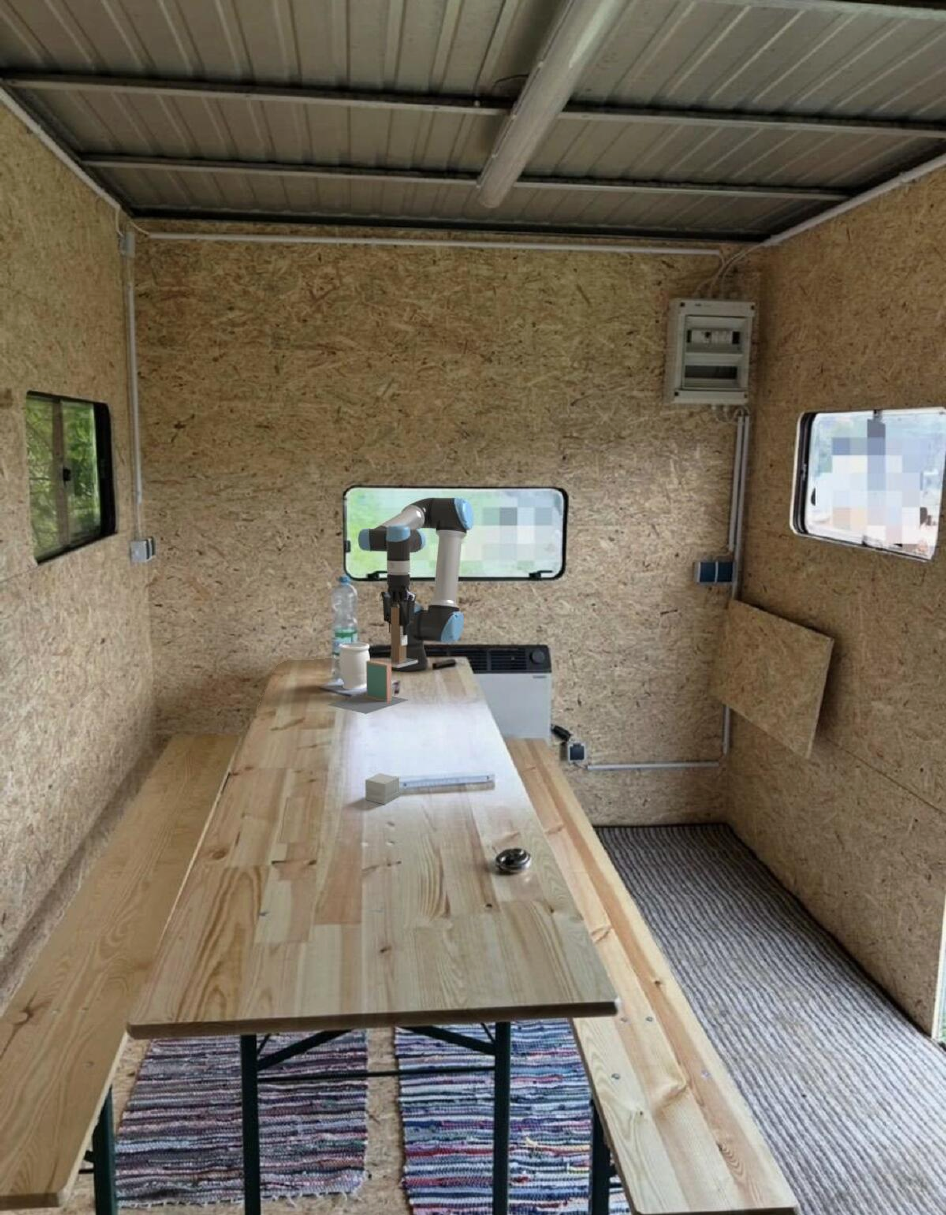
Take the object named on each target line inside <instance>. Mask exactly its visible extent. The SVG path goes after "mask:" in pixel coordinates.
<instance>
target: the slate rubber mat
mask: <svg viewBox="0 0 946 1215" xmlns="http://www.w3.org/2000/svg"><path fill="white" fill-rule="evenodd" d="M407 701H409V699H408V698H407V699H406V698H404V697H403V698H402V697H397V696H393V695H392V700H391V701H388V702H386V701H382V700H377V699H372V698H368V697H367V692H365V693H362V694H357V695H354V696H351V697H348V698H344V699H341V700H337V701H335V702H332V703H331V702H330V703H327V704H326V706H331V707H334V708H335V707H336V708H339V709H344V710H349V711H352V712H353V711H354V712H357V713H361V714H366V715H367V714H369V713H374V712H376V711H378V710H379V711H380V710H382V709H385V708H389V707H392V706H395V705H398V704H401V703H404V702H407Z"/></svg>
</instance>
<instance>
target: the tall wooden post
mask: <svg viewBox="0 0 946 1215" xmlns="http://www.w3.org/2000/svg"><path fill="white" fill-rule="evenodd" d="M405 622H406V621H405ZM401 624H402V621H401V614H400V607H399V605H398V606H394V607H391V644H390V654H391V659H384V660H381V661H379V662H383V663H389V664H391V667H395V668H400V667H404V666H407V665H411V664H415V663H418V660H416V659H410V658H406V645H403V646H401V645H400V626H401Z"/></svg>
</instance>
